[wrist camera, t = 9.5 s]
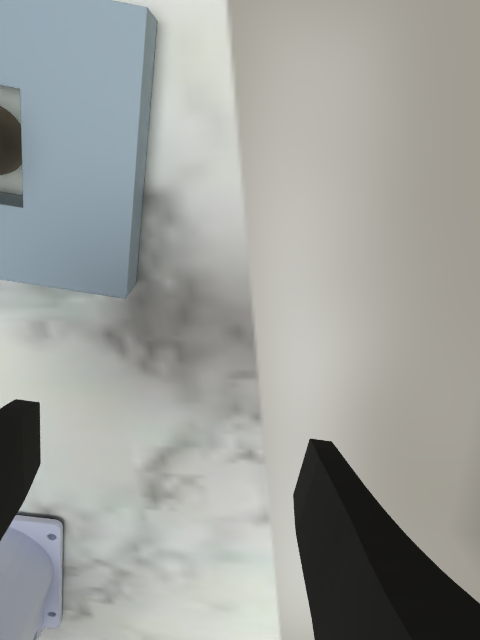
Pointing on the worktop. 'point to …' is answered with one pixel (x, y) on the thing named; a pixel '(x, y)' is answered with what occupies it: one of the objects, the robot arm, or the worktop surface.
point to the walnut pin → (9, 142)
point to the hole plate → (77, 141)
